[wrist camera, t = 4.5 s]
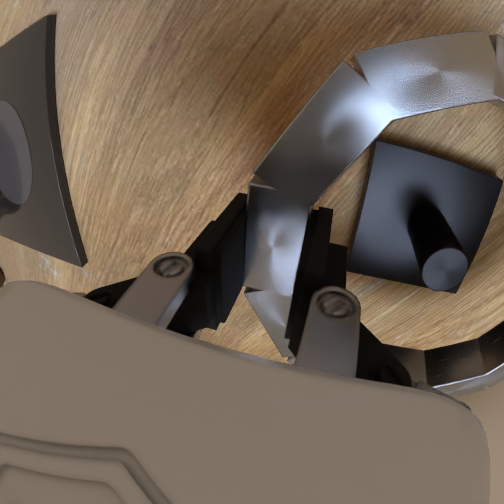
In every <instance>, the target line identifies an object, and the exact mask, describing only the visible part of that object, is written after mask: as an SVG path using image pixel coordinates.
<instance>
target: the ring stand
mask: <svg viewBox="0 0 504 504" xmlns="http://www.w3.org/2000/svg"><path fill="white" fill-rule="evenodd" d="M502 184H503V181H502V180H501V179H500V178H499V177H497V176H496V175H494V174H492V173H489V172H487V171H484V170H482V169H479V168H477V167H474V166H471V165H469V164H466V163H463V162H460V161H457V160H455V159H452V158H449V157H446V156H443V155H440V154H437V153H433V152H430V151H427V150H424V149H420V148H417V147H413V146H410V145H406V144H402V143H398V142H395V141H391V140H387V139H383V138H377V139H376V140H375V141H374V142H373V143H372V148H371V154H370V159H369V165H368V170H367V175H366V180H365V185H364V189H363V194H362V198H361V203H360V207H359V212H358V216H357V220H356V224H355V228H354V232H353V236H352V240H351V244H350V248H349V251H348V255H347V271H348V272H352V273H357V274H362V275H367V276H372V277H377V278H382V279H387V280H391V281H396V282H401V283H406V284H411V285H416V286H421V287H426V288H430V289H432V290H435V291H445V292H450V293H455V294H456V292H457V291H458V289H459V287H460V285H461V283H462V281H463V279H464V277H465V275H466V273H467V271H468V269H469V267H470V265H471V263H472V261H473V259H474V257H475V255H476V252H477V250H478V248H479V246H480V243H481V241H482V239H483V236H484V234H485V232H486V229H487V227H488V224H489V221H490V219H491V216H492V214H493V211H494V208H495V205H496V202H497V199H498V196H499V193H500V190H501V187H502Z"/></svg>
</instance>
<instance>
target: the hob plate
mask: <svg viewBox="0 0 504 504" xmlns="http://www.w3.org/2000/svg"><path fill="white" fill-rule="evenodd" d="M55 23H56V15H47V16H45V17H44V18H42V19H41V20H39V21H37V22H36V23H34V24H33V25H31V26H30V27H28V28H27V29H25V30H24V31H22V32H21V33H19V34H18V35H17V36H15V37H14V38H12V39H11V40H10V41H8V42H7V43H6V44H5V45H3V46H2V47H1V48H0V235H1V236H4V237H6V238H8V239H11V240H13V241H15V242H18V243H20V244H22V245H25V246H27V247H30V248H32V249H35V250H37V251H40V252H42V253H45V254H47V255H50V256H53V257H55V258H58V259H60V260H63V261H66V262H68V263H71V264H74V265H77V266H79V267H83V266H84V265H85V264H86V263H87V262H88V261H87V258H86V255H85V251H84V248H83V245H82V241H81V238H80V234H79V231H78V227H77V223H76V219H75V215H74V211H73V207H72V203H71V199H70V194H69V190H68V185H67V180H66V175H65V169H64V164H63V158H62V152H61V145H60V138H59V130H58V121H57V110H56V98H55V77H54V42H55Z"/></svg>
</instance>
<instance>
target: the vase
mask: <svg viewBox="0 0 504 504" xmlns="http://www.w3.org/2000/svg"><path fill="white" fill-rule="evenodd" d="M3 284H4V275H3V273H2V271H1V269H0V288H1V287H3Z"/></svg>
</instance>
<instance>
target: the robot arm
mask: <svg viewBox="0 0 504 504" xmlns="http://www.w3.org/2000/svg"><path fill="white" fill-rule="evenodd" d="M246 209H247V194H244V193H238V194H237V195H236V196H235V198H234V199H233V200H232V201H231V202H230V204H229V205H228V206H227V207H226V208H225V210H224V211H223V212H222V213H221V215H220V216H219V217H218V218H217V219H216V221H211V222H210V223H209V224H208V225H207V226H206V228H205V229H204V230H203V231H202V232H201V234H200V235H199V236H198V237H197V238H196V240H195V241H194V242H193V243H192V244H191V246H190V247H189V248H188V249H187V251H186V252H185V253H181V252H167V253H164V254H161V255H159V256H157V257H155V258H154V259H153V260H152V261H151V262H150V263H149V264H148V265H147V267H146V268H145V269H144V270H143V271H142V273H141V274H140V275H139V276H138V277H136V278H132V279H129V280H125V281H122V282H118V283H115V284H111V285H108V286H104V287H101V288H98V289H95V290H93V291H91V292H90V293H88V294H87V295H86V294H85V293H71V292H69V291H66V290H64V289H61V288H58V287H56V286H53V285H49V284H46V283H42V282H36V281H14V282H10V283H8V284H6V285H4V286H3V287H1V288H0V504H489V496H490V457H489V450H488V443H487V438H486V434H485V431H484V428H483V426H482V424H481V422H480V420H479V419H478V418H477V416H476V415H475V414H473V413H472V411H471V409H470V408H469V407H468V406H467V405H466V404H465V403H463V402H461V401H459V400H457V399H455V398H453V397H451V396H449V395H447V394H445V393H443V392H441V391H439V390H437V389H436V388H434V387H432V386H430V385H428V384H426V383H424V382H422V381H420V380H419V381H418V382H417V383H416V382H414V381H412V379H411V377H410V374H409V372H408V371H407V369H406V368H405V367H404V366H403V365H402V364H401V363H400V362H399V360H398V359H397V358H396V357H395V356H394V355H393V354H392V353H391V352H390V351H389V350H388V349H387V348H386V347H385V346H384V345H383V344H382V343H381V342H380V341H379V340H378V339H377V338H376V337H375V336H374V335H373V334H372V333H371V332H370V331H369V330H368V329H367V328H366V327H365V326H364V325H363V324H362V323H361V322H360V316H361V306H360V302H359V300H358V299H357V297H356V296H355V295H354V294H353V293H352V292H350V291H348V290H346V274H347V251H348V248H347V246H342V245H338V244H333V243H329V241H330V233H331V225H332V216H333V209H329V208H324V207H319V210H314V209H313V211H312V215H311V219H310V223H309V227H308V231H307V234H306V238H305V242H304V246H303V250H302V253H301V257H300V261H299V264H298V269H297V273H296V278H295V284H294V289H293V295H292V300H291V305H290V311H289V316H288V321H287V326H286V331H285V336H284V338H285V339H290V340H289V344H288V349H289V350H290V351H291V352H292V354H293V355H294V356H295V357H296V358H295V362H294V365H290V364H286V363H281V362H277V361H273V360H269V359H265V358H261V357H257V356H254V355H250V354H246V353H242V352H239V351H235V350H231V349H228V348H224V347H221V346H218V345H214V344H211V343H208V342H204V341H201V340H199V338H200V335H201V332H202V331H201V329H204V328H210V329H214V330H217V328H218V326H219V324H220V322H222V323H225V322H226V320H227V318H228V316H229V314H230V311H231V309H232V307H233V305H234V303H235V301H236V299H237V297H238V295H239V293H240V291H241V289H242V287H243V263H244V240H245V224H246Z"/></svg>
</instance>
